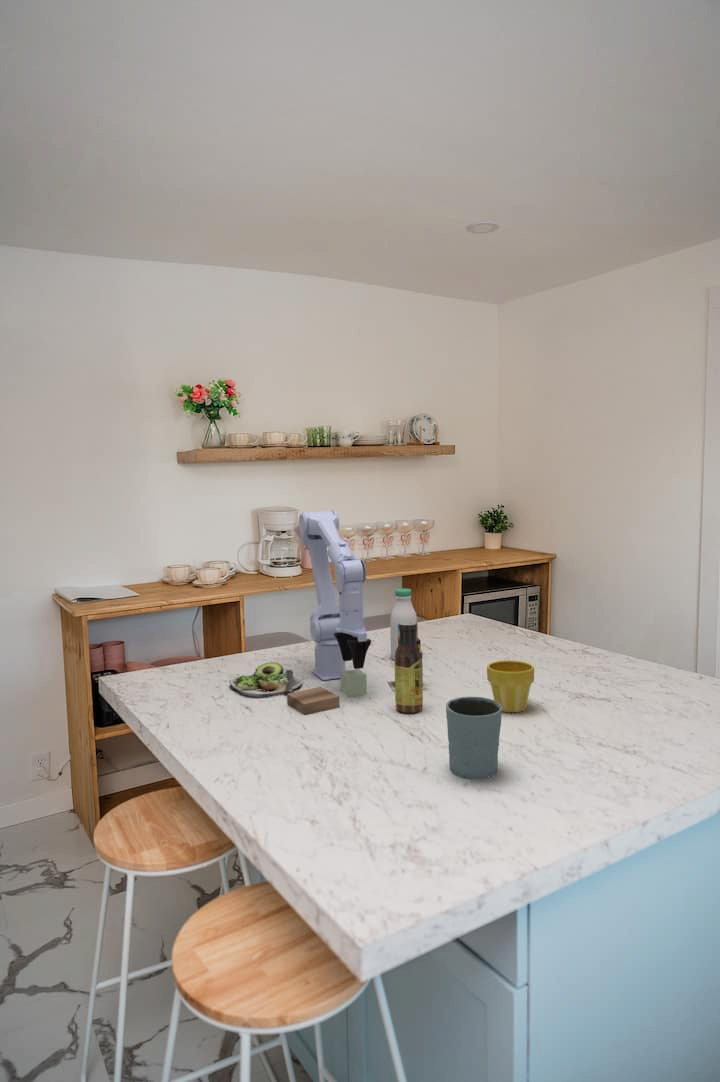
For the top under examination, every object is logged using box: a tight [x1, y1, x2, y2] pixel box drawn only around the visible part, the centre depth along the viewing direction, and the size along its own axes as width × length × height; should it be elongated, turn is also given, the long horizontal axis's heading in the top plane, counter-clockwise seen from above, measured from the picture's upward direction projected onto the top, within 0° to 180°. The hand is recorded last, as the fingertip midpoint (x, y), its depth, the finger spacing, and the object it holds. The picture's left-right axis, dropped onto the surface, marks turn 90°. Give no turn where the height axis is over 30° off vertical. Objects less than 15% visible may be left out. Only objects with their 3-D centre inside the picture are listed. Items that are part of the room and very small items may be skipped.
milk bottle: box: [389, 588, 419, 661], centre depth 206 cm, size 8×8×20 cm
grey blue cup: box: [445, 696, 503, 779], centre depth 131 cm, size 10×10×12 cm
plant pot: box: [486, 659, 535, 714], centre depth 163 cm, size 10×10×10 cm
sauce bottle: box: [394, 622, 424, 714], centre depth 163 cm, size 7×6×20 cm
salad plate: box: [229, 661, 303, 698], centre depth 183 cm, size 19×18×5 cm
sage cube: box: [339, 669, 368, 698], centre depth 177 cm, size 5×5×5 cm
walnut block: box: [286, 686, 341, 716], centre depth 169 cm, size 9×9×3 cm
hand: (352, 664), depth 177 cm, fingers open, 7 cm apart
